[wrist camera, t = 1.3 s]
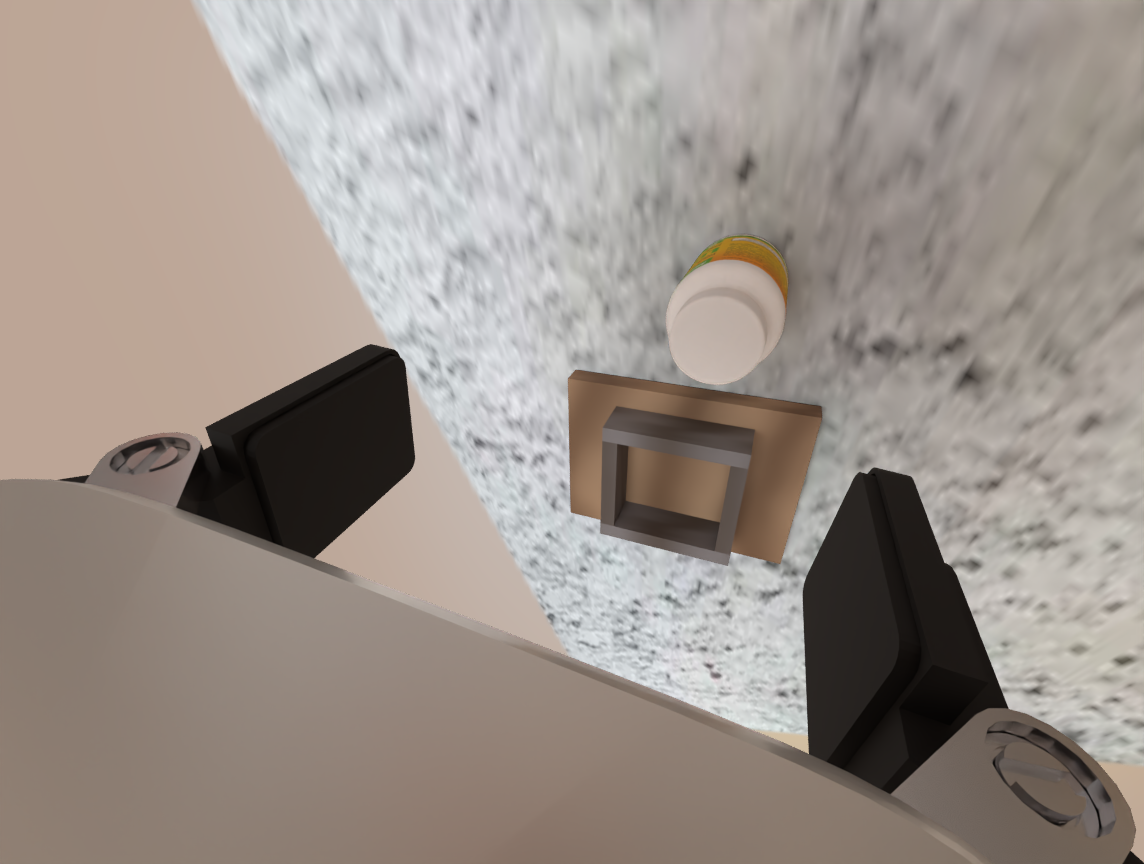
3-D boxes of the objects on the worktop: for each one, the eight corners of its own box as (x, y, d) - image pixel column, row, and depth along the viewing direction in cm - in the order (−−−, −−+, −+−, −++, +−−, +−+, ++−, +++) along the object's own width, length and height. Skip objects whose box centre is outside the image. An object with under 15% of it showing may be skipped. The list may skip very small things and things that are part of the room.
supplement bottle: (718, 216, 27) (685, 254, 20) (809, 258, 27) (812, 315, 19) (674, 303, 31) (632, 365, 23) (755, 342, 30) (739, 420, 22)
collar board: (821, 406, 31) (824, 444, 27) (780, 549, 37) (778, 595, 33) (575, 369, 36) (550, 397, 32) (577, 501, 42) (556, 536, 38)
